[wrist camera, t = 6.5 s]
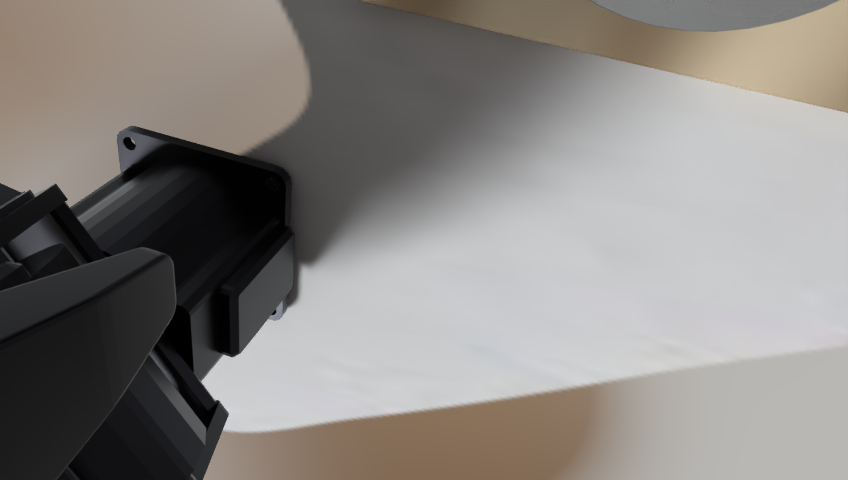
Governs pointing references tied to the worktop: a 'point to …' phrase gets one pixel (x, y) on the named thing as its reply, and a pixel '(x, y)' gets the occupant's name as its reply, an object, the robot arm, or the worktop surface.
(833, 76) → the oak board
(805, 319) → the worktop surface
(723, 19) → the pot lid
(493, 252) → the worktop surface
